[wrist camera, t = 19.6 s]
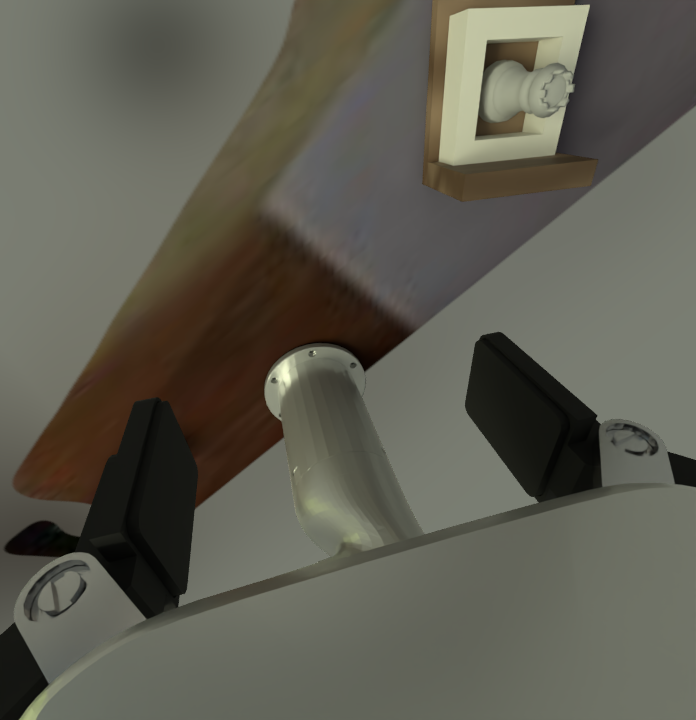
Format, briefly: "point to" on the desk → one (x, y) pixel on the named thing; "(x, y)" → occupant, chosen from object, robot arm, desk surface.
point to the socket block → (465, 70)
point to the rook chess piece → (523, 90)
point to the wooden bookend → (498, 174)
